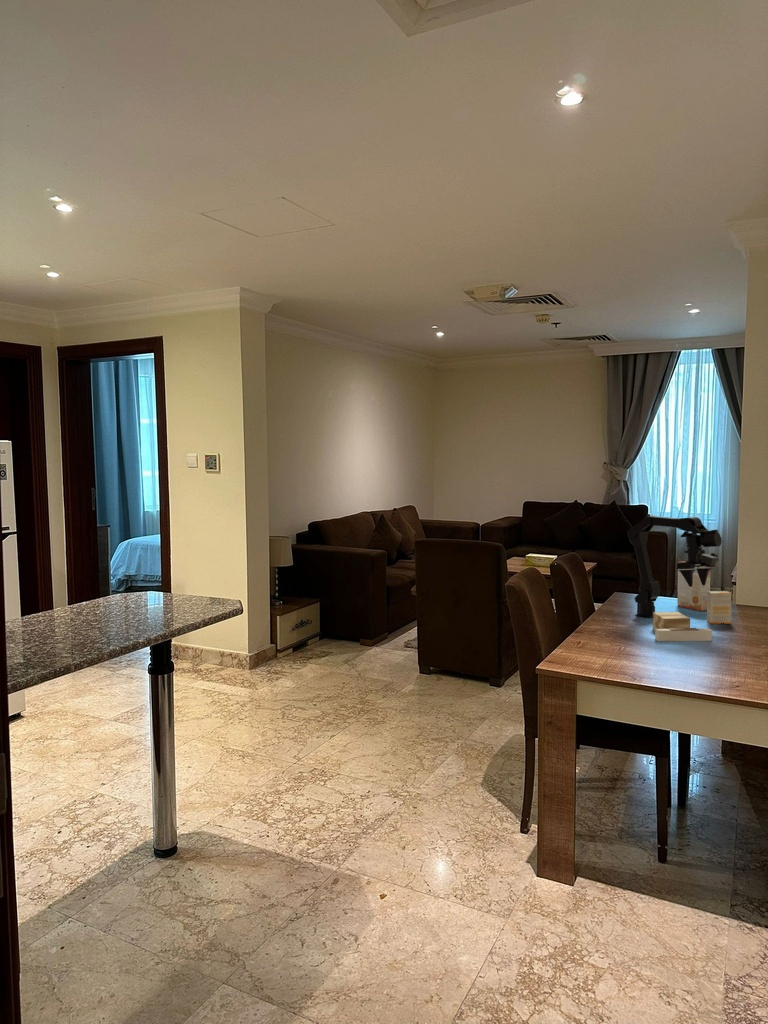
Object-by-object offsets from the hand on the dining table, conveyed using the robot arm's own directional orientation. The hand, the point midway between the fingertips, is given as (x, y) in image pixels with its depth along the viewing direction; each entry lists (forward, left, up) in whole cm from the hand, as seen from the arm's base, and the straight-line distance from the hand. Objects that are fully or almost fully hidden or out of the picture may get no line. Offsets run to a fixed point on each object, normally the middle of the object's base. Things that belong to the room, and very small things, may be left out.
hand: (697, 586), depth 291 cm
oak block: (-2, -18, -17) cm, 25 cm away
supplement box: (+4, +11, -17) cm, 20 cm away
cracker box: (-16, +33, -17) cm, 40 cm away
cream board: (+7, -27, -16) cm, 32 cm away
